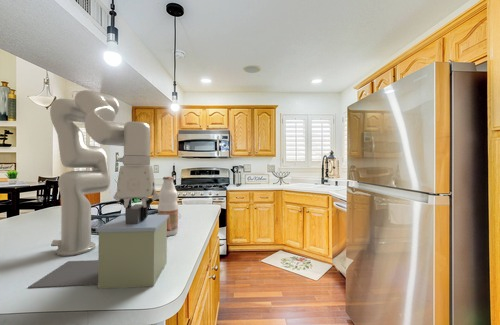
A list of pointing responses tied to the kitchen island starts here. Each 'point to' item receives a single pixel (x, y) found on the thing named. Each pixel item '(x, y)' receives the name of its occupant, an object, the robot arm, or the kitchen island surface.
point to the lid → (133, 221)
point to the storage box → (131, 257)
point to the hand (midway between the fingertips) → (136, 219)
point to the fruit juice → (169, 205)
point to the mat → (71, 275)
